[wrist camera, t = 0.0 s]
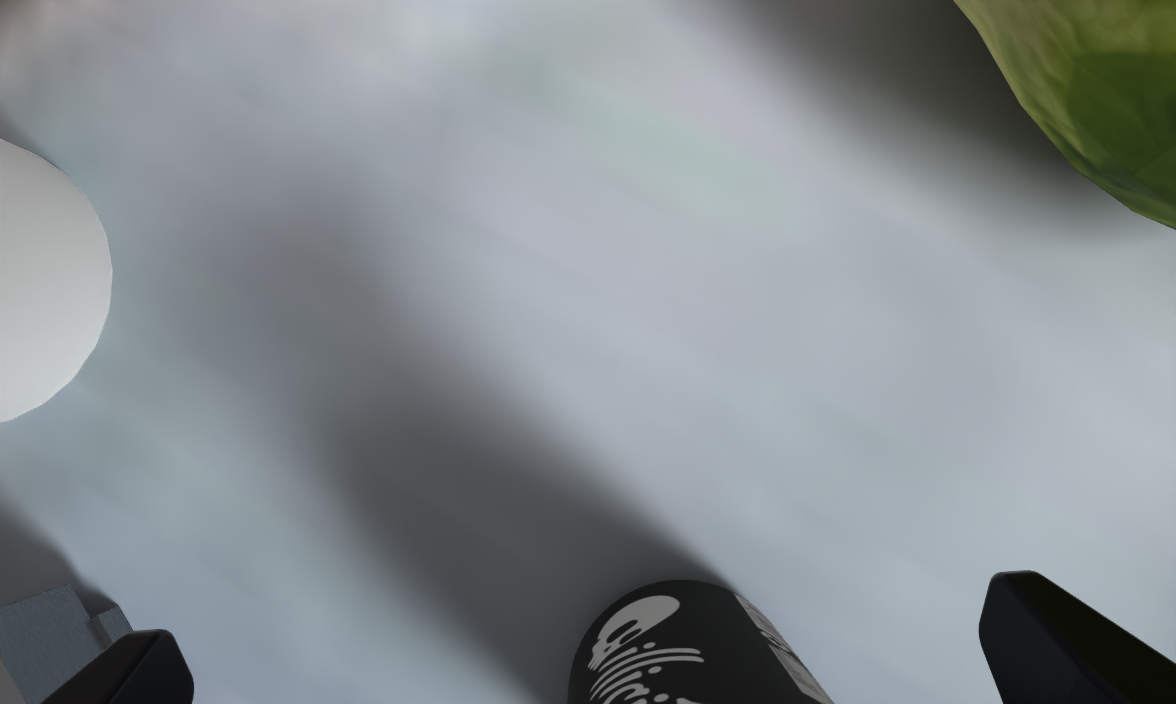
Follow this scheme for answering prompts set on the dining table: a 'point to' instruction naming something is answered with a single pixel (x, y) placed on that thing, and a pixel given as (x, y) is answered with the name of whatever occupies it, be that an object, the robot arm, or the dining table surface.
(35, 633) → the bay
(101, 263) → the white stepped block
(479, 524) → the dining table surface
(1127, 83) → the lettuce
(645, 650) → the beverage can
